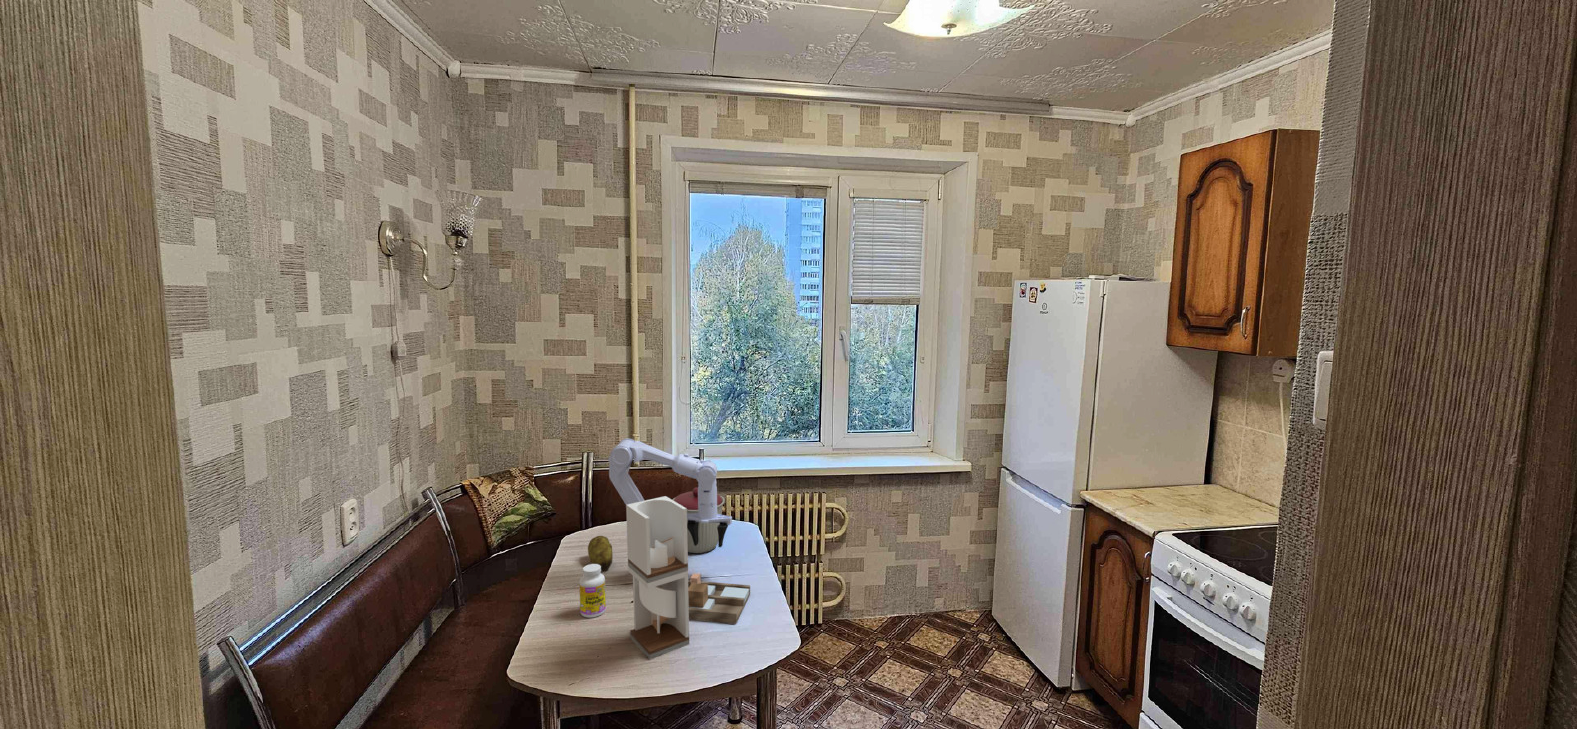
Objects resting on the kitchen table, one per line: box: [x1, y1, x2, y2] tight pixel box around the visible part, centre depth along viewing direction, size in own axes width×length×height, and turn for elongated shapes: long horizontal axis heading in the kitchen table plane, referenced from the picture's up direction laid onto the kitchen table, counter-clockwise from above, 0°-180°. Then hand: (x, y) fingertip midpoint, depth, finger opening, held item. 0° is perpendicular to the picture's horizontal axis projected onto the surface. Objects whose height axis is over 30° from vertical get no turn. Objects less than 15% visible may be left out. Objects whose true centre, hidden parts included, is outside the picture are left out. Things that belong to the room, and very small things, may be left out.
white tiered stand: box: [625, 495, 690, 660], centre depth 152 cm, size 11×11×35 cm
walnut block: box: [688, 583, 708, 608], centre depth 168 cm, size 4×4×4 cm
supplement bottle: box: [578, 563, 607, 618], centre depth 167 cm, size 7×7×13 cm
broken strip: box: [689, 572, 749, 603], centre depth 175 cm, size 16×6×6 cm, turn 80°
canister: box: [672, 487, 726, 554], centre depth 209 cm, size 18×18×21 cm
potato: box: [587, 535, 613, 571], centre depth 197 cm, size 8×13×8 cm, turn 10°
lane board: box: [688, 579, 751, 625], centre depth 172 cm, size 22×16×3 cm
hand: (708, 545), depth 187 cm, fingers open, 7 cm apart
